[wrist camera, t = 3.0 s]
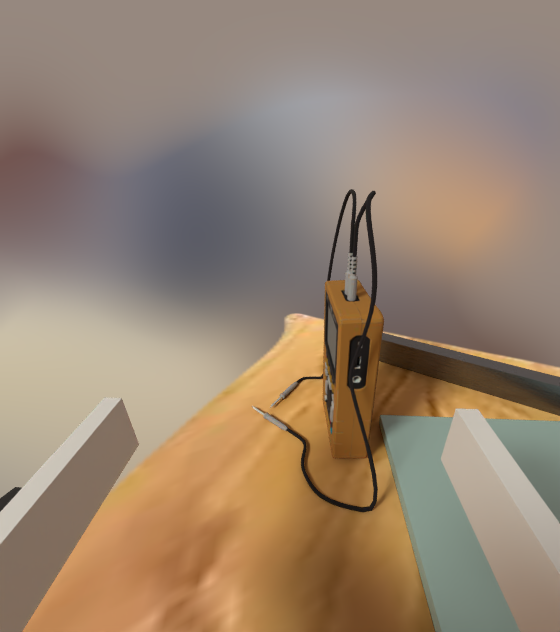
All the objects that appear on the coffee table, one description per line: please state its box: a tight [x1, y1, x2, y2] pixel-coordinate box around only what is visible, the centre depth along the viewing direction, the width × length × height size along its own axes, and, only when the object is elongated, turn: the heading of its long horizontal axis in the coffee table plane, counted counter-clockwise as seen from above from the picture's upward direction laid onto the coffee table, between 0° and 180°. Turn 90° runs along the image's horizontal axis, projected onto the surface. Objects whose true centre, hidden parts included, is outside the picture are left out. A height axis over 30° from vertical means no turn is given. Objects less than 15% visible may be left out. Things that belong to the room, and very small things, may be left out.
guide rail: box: [379, 333, 560, 416], centre depth 30 cm, size 22×2×3 cm, turn 55°
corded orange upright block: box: [252, 189, 384, 512], centre depth 22 cm, size 15×10×20 cm
